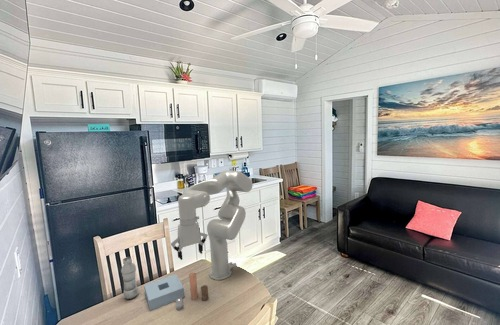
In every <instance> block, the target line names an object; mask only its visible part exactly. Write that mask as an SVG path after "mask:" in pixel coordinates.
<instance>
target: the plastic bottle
mask: <svg viewBox="0 0 500 325" xmlns="http://www.w3.org/2000/svg"><path fill="white" fill-rule="evenodd" d="M122 262H123V265H122V267H121V269H120V272H121V276H122V280H123V296H124V298H125V299H127V300H131V299H134V298H135V297H136V296H137V295H138V293H139V287H138V284H137V278H136V273H137V272H136V271H137V266H136V265H135V263H133V260H132V257H131V256H127V257H124V258H123V260H122Z"/></svg>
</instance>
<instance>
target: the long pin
mask: <svg viewBox="0 0 500 325" xmlns="http://www.w3.org/2000/svg"><path fill="white" fill-rule="evenodd" d="M188 275H189V276H188V277H189V288H190V299H191V300H193V301H194V300H197V299H198V298H199V294H198V282H197V273H196V272H191V273H189V274H188Z"/></svg>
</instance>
